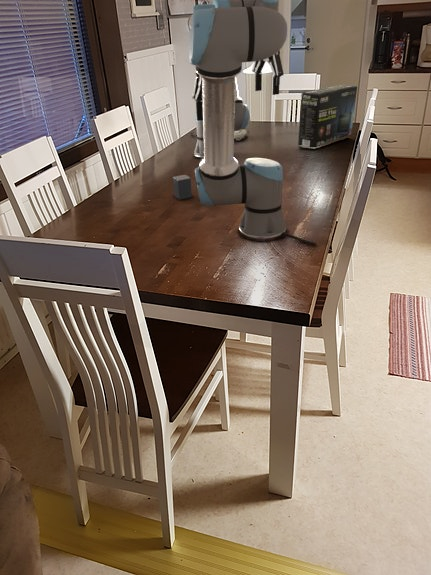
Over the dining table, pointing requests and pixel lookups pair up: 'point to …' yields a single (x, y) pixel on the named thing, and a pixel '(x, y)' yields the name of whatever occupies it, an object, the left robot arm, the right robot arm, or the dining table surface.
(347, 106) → the router box
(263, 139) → the dining table surface
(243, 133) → the fossil
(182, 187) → the block
